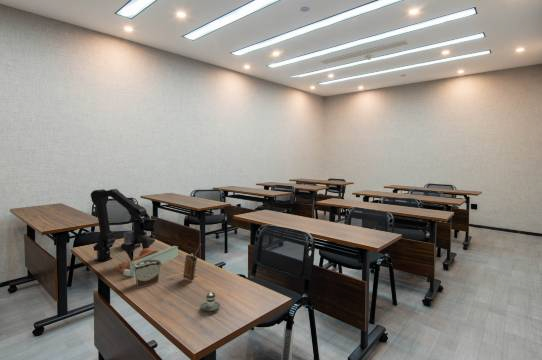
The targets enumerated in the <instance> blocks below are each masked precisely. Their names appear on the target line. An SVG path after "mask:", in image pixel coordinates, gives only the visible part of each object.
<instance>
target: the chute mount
mask: <svg viewBox="0 0 542 360" xmlns="http://www.w3.org/2000/svg"><path fill="white" fill-rule="evenodd" d="M178 248H179V246H178V245H177V246H176V245H173V246H172V245H171V246H170V247H167V248H165V249H162V250H159V251H158V252H157V253H154V254H152V255H149V256H146V257H144V258H141V259H139V260H136V261H134V262H131V263H130V270H127V269H125V270H124V273H123V276H127V277H132V278H136V276H135V271H133V269H134V265H135V264H136V263H137V262H140V261H143V260H151V259H153V260H159V261H160V262H161V265H164V264H165V263H167V262H169V261H171V260H173V259H175V258H177V257H179V256H178V255H179V252H178V250H179V249H178Z"/></svg>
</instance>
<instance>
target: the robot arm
mask: <svg viewBox="0 0 542 360" xmlns="http://www.w3.org/2000/svg"><path fill="white" fill-rule="evenodd" d="M109 197H111V198H112V199H113V200H114V201H116V202H117V203H118V204H119V205H121V206H122V207H124V209H126V210H127V212H128V214H129V215H130V217H131V219H130V220H129V221H128V222H129V223H132V225H133V226H132V231H133V232H131V234H133V240H131V242H133V243H130V242H127V243H124V242H123V243H122V244H121V246H120V249H121V250H123V251H124V252H125V253H126V254H127V257H128V258H129V259H130V260H129V261H131V260H133V259H134V252H135V251H136V249H134V248H135V246H136V245H139V244H141V247H142V250H143V249H145V248H151V247H150V246H152V245H153V244H154V243H155V241H156V240H155V239H156V235H154V234H150V235H148V233H147V232H155V233H156V232H158V230H159V228H160V227H159V226H160V224H159V222H158V220H157V218H151V217H150V215H149V214H148V212H147V209H146V208H145V207H144V206H142V205H140V204H137V203H135V202H133V201H132V200H131V199H129V198H128V197H127V196H125V195H124V194H123V193H122V192H120V191H119V189H117V188H113V189H111V188H110V189H108V190H107V189H104V188H102V189H95V190H93V191H91V193H90V198H91V202H92V203H93V204H94V206H95V208H96V214H97V220H98V221H97V222H98V229H99V233H98V237H97V243H96V244H95V245H93V251H95V252H96V258H94V259H93V261H97V262H101V263H102V262H106V261H109V260H112V259H113V257H111V249H110V248H112V247H113V246H114V244H115V243H116V239H117V238H116V233H115V231H113V232H112V231H111V228H110V227H111V226H110V221H109V215H108V209H107V207H108V206H107V204H108V202H109ZM136 243H137V244H136Z"/></svg>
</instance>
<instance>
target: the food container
mask: <svg viewBox="0 0 542 360" xmlns="http://www.w3.org/2000/svg"><path fill="white" fill-rule="evenodd" d="M161 266H162V264H161V262H160V261H159V260H153V259H151V260H143V261H140V262H137V263H136V264H135V265H134V269H133V271H135V282H136V288H137V289H139V288H143V287H146V286H149V285H153V284H158V283H159V281H160V280H159V278H160V270H161V269H160V268H161Z"/></svg>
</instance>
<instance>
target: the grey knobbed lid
mask: <svg viewBox="0 0 542 360" xmlns="http://www.w3.org/2000/svg"><path fill="white" fill-rule="evenodd" d="M215 300H216V293H215V292H208V293H207V294H206V301H205V302H203V303H201V305H200V309H201V310H203V311H204V312H205V311H206V312H210V311H211V312H212V311H215V310H218V309H219V308H220V307H221V304H220V302H218V301H215Z"/></svg>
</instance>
